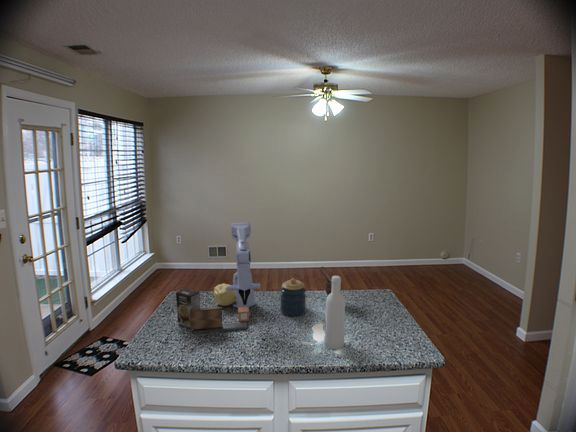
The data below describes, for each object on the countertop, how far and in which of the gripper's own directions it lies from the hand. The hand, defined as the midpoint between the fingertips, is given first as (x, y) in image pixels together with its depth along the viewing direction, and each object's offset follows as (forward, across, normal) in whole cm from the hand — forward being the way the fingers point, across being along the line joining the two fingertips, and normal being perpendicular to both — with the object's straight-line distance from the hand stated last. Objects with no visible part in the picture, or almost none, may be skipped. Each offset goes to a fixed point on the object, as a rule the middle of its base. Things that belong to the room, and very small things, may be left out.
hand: (244, 303), depth 156 cm
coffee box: (+11, -26, +5) cm, 29 cm away
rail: (+10, -12, -3) cm, 16 cm away
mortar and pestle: (+11, +46, +14) cm, 49 cm away
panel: (+9, -17, -3) cm, 20 cm away
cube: (+10, -1, +6) cm, 12 cm away
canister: (+11, +25, +9) cm, 28 cm away
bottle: (+10, +36, -23) cm, 44 cm away
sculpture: (+11, -10, +24) cm, 28 cm away
